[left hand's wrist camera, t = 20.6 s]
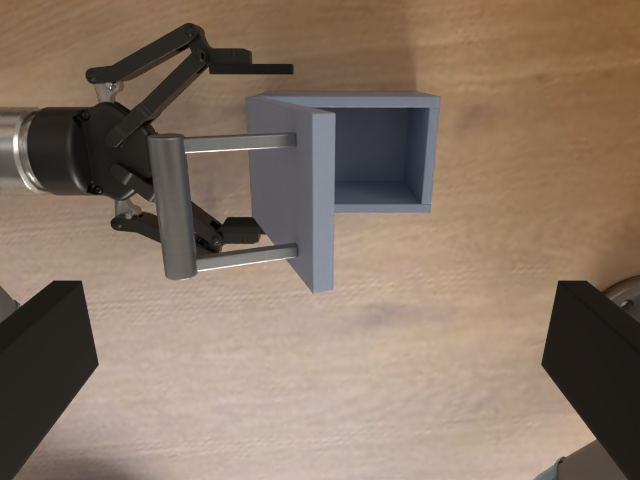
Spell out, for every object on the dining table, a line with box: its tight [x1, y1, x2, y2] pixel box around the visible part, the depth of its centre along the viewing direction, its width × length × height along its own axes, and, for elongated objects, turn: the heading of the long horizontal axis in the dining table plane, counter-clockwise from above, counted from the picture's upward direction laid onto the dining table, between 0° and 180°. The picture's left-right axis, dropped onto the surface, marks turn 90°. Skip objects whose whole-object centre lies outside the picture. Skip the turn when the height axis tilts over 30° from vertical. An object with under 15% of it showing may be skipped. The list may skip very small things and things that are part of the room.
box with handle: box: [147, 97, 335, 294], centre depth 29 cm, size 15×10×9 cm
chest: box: [255, 91, 441, 213], centre depth 41 cm, size 15×10×9 cm, turn 90°
